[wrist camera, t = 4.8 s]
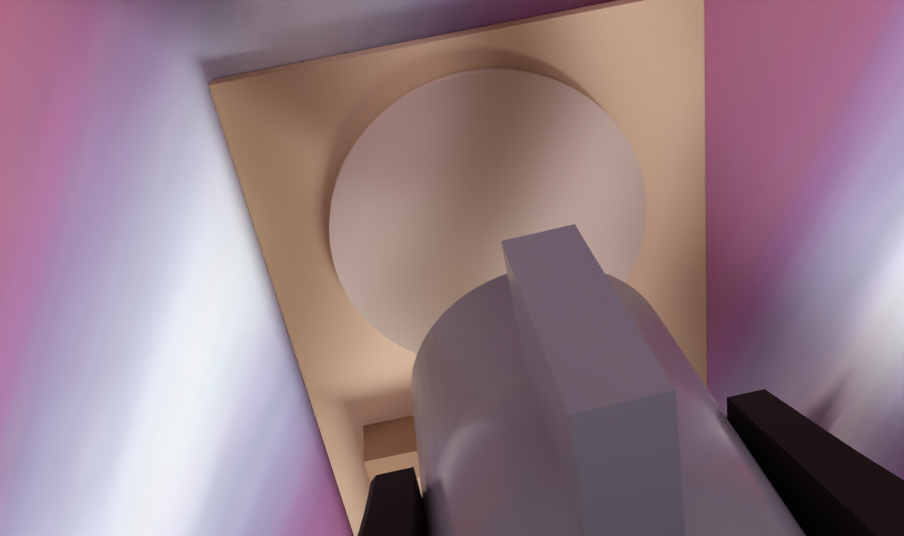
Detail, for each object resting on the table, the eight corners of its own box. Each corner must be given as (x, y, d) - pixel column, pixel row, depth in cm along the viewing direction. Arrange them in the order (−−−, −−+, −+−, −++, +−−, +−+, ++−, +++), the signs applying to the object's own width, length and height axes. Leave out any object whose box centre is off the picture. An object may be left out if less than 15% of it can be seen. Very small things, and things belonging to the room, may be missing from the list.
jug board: (694, -15, 19) (733, -2, 17) (702, 583, 29) (726, 634, 27) (212, 79, 18) (196, 103, 17) (394, 648, 29) (397, 704, 27)
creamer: (675, 448, 16) (934, 921, 9) (439, 503, 16) (509, 1022, 9) (654, 129, 12) (1048, 481, 5) (353, 198, 12) (353, 643, 5)
